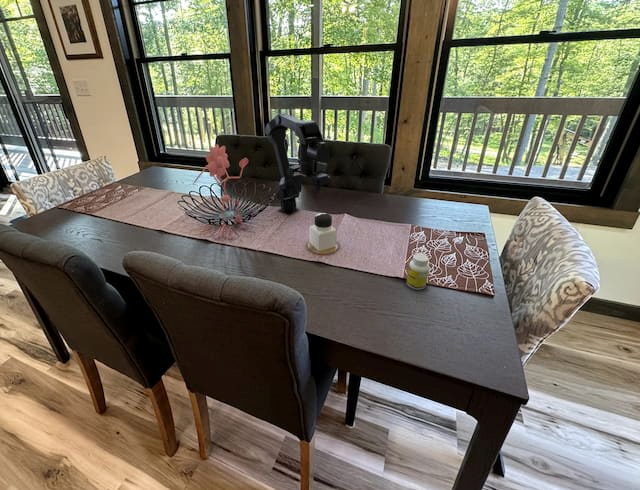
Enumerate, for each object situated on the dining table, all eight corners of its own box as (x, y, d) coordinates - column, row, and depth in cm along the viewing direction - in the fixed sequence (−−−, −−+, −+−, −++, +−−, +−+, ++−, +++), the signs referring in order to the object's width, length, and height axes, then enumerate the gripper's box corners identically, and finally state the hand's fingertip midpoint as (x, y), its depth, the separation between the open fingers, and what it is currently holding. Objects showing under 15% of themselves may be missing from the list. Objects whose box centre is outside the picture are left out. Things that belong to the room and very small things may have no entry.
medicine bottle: (336, 247, 112) (337, 217, 106) (319, 252, 110) (319, 221, 104) (325, 238, 118) (326, 209, 112) (309, 242, 115) (309, 213, 110)
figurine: (258, 221, 134) (251, 138, 118) (218, 250, 114) (204, 156, 98) (230, 214, 141) (220, 135, 125) (188, 240, 122) (170, 151, 105)
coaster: (301, 247, 114) (301, 246, 113) (319, 235, 121) (319, 234, 120) (326, 258, 107) (326, 257, 107) (343, 245, 114) (343, 244, 114)
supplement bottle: (402, 279, 95) (407, 252, 90) (420, 278, 95) (425, 251, 91) (410, 291, 90) (416, 263, 86) (429, 289, 90) (435, 261, 86)
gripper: (340, 157, 114) (339, 196, 121) (307, 148, 127) (307, 184, 134) (318, 163, 108) (317, 204, 115) (285, 153, 121) (286, 190, 128)
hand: (307, 195), depth 123 cm, fingers open, 9 cm apart
